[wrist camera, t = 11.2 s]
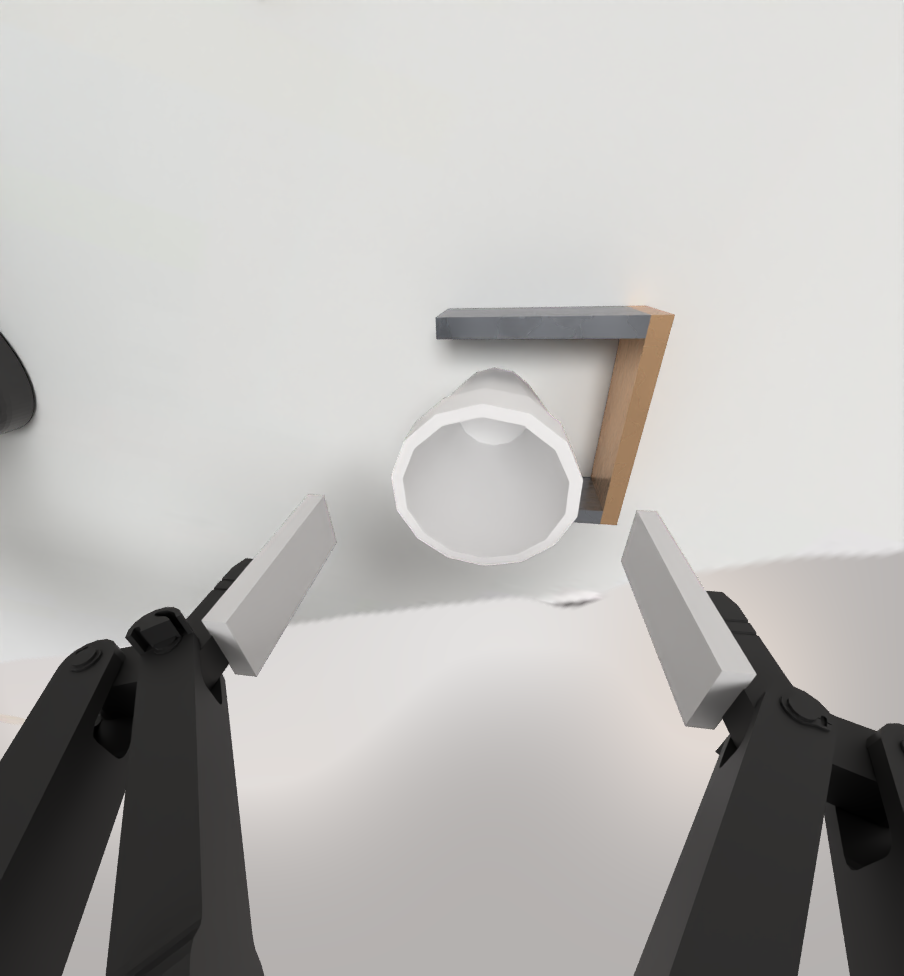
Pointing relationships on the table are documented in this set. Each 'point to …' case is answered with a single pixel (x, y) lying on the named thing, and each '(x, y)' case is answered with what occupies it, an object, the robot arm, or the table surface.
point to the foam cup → (488, 473)
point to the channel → (628, 388)
